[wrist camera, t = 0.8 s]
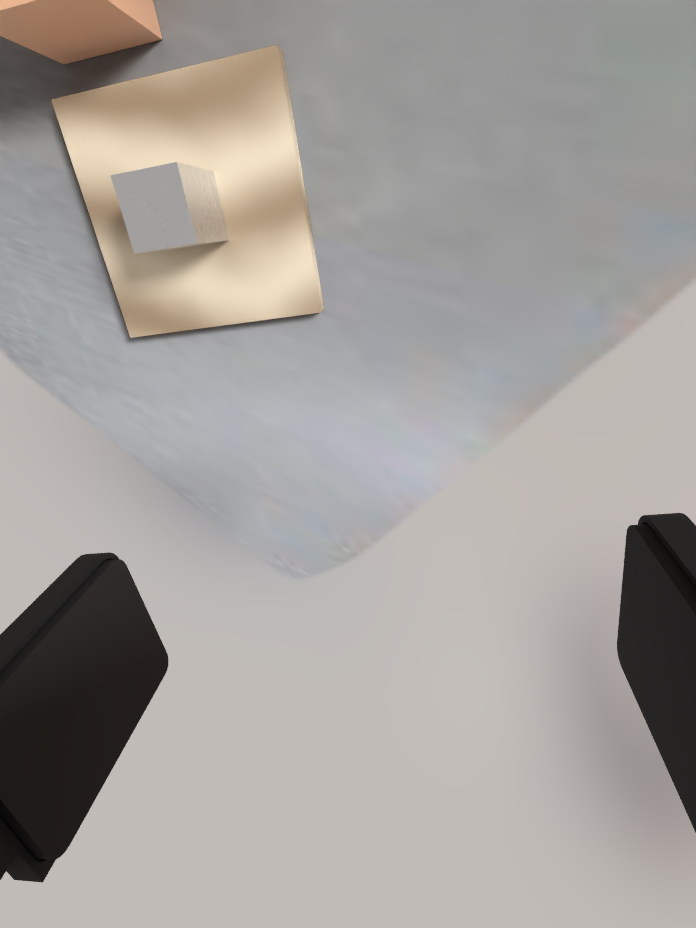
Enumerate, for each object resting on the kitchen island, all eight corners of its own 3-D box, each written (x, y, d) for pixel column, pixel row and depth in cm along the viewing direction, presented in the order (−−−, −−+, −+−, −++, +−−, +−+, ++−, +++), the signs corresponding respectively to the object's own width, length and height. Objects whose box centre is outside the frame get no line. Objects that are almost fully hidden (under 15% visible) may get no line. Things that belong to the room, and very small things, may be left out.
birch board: (64, 104, 30) (51, 99, 29) (282, 52, 27) (277, 45, 26) (139, 334, 36) (130, 337, 34) (324, 309, 33) (320, 312, 32)
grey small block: (156, 182, 30) (110, 175, 25) (213, 171, 29) (176, 161, 25) (174, 249, 31) (134, 253, 27) (229, 240, 31) (197, 243, 26)
